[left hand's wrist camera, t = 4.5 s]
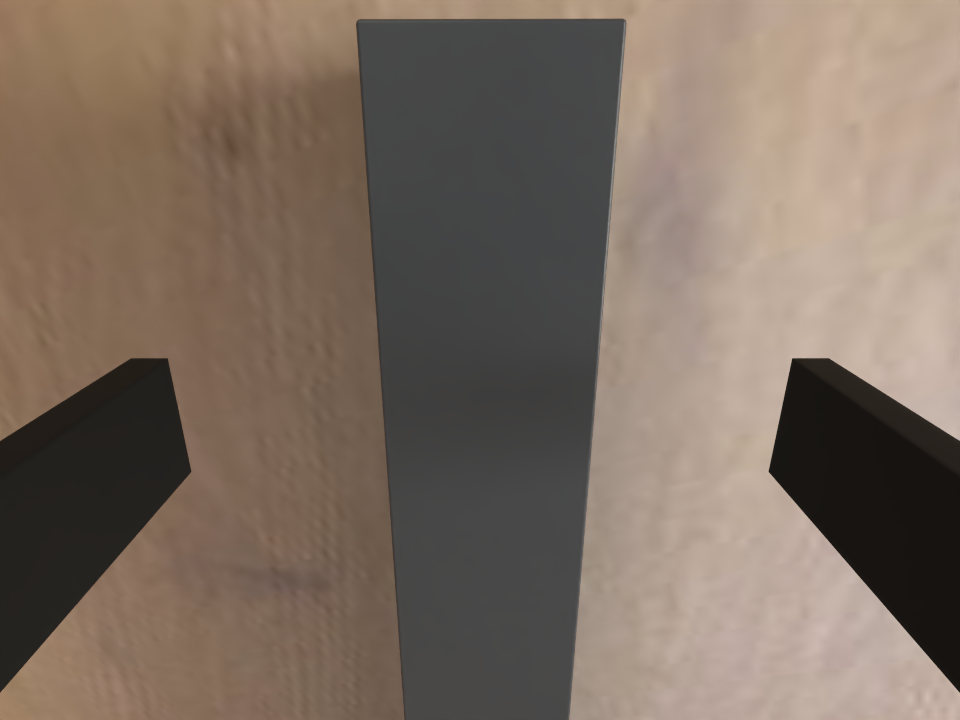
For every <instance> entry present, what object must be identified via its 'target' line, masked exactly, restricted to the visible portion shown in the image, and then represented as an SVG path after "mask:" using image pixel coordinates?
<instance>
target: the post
mask: <svg viewBox="0 0 960 720" xmlns="http://www.w3.org/2000/svg"><path fill="white" fill-rule="evenodd" d="M356 28H357V43H358V57H359V71H360V86H361V100H362V114H363V129H364V143H365V157H366V172H367V186H368V200H369V215H370V229H371V243H372V258H373V272H374V286H375V301H376V315H377V329H378V344H379V358H380V372H381V387H382V401H383V415H384V430H385V444H386V458H387V473H388V487H389V501H390V516H391V530H392V544H393V559H394V573H395V587H396V601H397V616H398V630H399V644H400V659H401V673H402V687H403V702H404V716H405V720H569V714H570V702H571V690H572V678H573V665H574V653H575V641H576V629H577V617H578V605H579V593H580V580H581V568H582V556H583V544H584V532H585V520H586V508H587V496H588V483H589V471H590V459H591V447H592V435H593V423H594V411H595V399H596V386H597V374H598V362H599V350H600V338H601V326H602V314H603V301H604V289H605V277H606V265H607V253H608V241H609V229H610V217H611V204H612V192H613V180H614V168H615V156H616V144H617V132H618V119H619V107H620V95H621V83H622V71H623V59H624V47H625V35H626V20H624V19H360V20H358V21H357V23H356Z"/></svg>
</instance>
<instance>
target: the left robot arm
mask: <svg viewBox="0 0 960 720" xmlns="http://www.w3.org/2000/svg"><path fill="white" fill-rule="evenodd" d="M190 473H191V468H190V463H189V458H188V454H187V449H186V444H185V439H184V434H183V430H182V425H181V420H180V415H179V410H178V406H177V401H176V396H175V391H174V386H173V382H172V377H171V372H170V367H169V363H168V358H131V359H130V360H128V361H126V362H125V363H123V364H122V365H120V366H118V367H117V368H115V369H114V370H112V371H111V372H109V373H107V374H106V375H104V376H103V377H101V378H99V379H98V380H96V381H95V382H93V383H92V384H90V385H88V386H87V387H85V388H84V389H82V390H80V391H79V392H77V393H76V394H74V395H73V396H71V397H69V398H68V399H66V400H65V401H63V402H61V403H60V404H58V405H57V406H55V407H54V408H52V409H50V410H49V411H47V412H46V413H44V414H42V415H41V416H39V417H38V418H36V419H35V420H33V421H31V422H30V423H28V424H27V425H25V426H23V427H22V428H20V429H19V430H17V431H16V432H14V433H12V434H11V435H9V436H8V437H6V438H4V439H3V440H1V441H0V692H1V691H2V690H3V689H4V688H5V686H6V685H7V684H8V683H9V682H10V681H11V680H12V678H13V677H14V676H15V675H16V674H17V673H18V671H19V670H20V669H21V668H22V667H23V666H24V664H25V663H26V662H27V661H28V660H29V659H30V658H31V656H32V655H33V654H34V653H35V652H36V651H37V649H38V648H39V647H40V646H41V645H42V644H43V643H44V641H45V640H46V639H47V638H48V637H49V636H50V634H51V633H52V632H53V631H54V630H55V629H56V628H57V626H58V625H59V624H60V623H61V622H62V621H63V619H64V618H65V617H66V616H67V615H68V614H69V612H70V611H71V610H72V609H73V608H74V607H75V606H76V604H77V603H78V602H79V601H80V600H81V599H82V597H83V596H84V595H85V594H86V593H87V592H88V591H89V589H90V588H91V587H92V586H93V585H94V584H95V582H96V581H97V580H98V579H99V578H100V577H101V576H102V574H103V573H104V572H105V571H106V570H107V569H108V567H109V566H110V565H111V564H112V563H113V562H114V560H115V559H116V558H117V557H118V556H119V555H120V554H121V552H122V551H123V550H124V549H125V548H126V547H127V545H128V544H129V543H130V542H131V541H132V540H133V539H134V537H135V536H136V535H137V534H138V533H139V532H140V530H141V529H142V528H143V527H144V526H145V525H146V524H147V522H148V521H149V520H150V519H151V518H152V517H153V515H154V514H155V513H156V512H157V511H158V510H159V508H160V507H161V506H162V505H163V504H164V503H165V502H166V500H167V499H168V498H169V497H170V496H171V495H172V493H173V492H174V491H175V490H176V489H177V488H178V487H179V485H180V484H181V483H182V482H183V481H184V480H185V478H186V477H187V476H188V475H189V474H190ZM769 473H770V474H771V475H772V476H773V477H774V478H775V480H776V481H777V482H778V483H779V484H780V485H781V487H782V488H783V489H784V490H785V491H786V492H787V493H788V495H789V496H790V497H791V498H792V499H793V500H794V502H795V503H796V504H797V505H798V506H799V507H800V508H801V510H802V511H803V512H804V513H805V514H806V515H807V517H808V518H809V519H810V520H811V521H812V522H813V524H814V525H815V526H816V527H817V528H818V529H819V530H820V532H821V533H822V534H823V535H824V536H825V537H826V539H827V540H828V541H829V542H830V543H831V544H832V545H833V547H834V548H835V549H836V550H837V551H838V552H839V554H840V555H841V556H842V557H843V558H844V559H845V560H846V562H847V563H848V564H849V565H850V566H851V567H852V569H853V570H854V571H855V572H856V573H857V574H858V576H859V577H860V578H861V579H862V580H863V581H864V582H865V584H866V585H867V586H868V587H869V588H870V589H871V591H872V592H873V593H874V594H875V595H876V596H877V597H878V599H879V600H880V601H881V602H882V603H883V604H884V606H885V607H886V608H887V609H888V610H889V611H890V612H891V614H892V615H893V616H894V617H895V618H896V619H897V621H898V622H899V623H900V624H901V625H902V626H903V628H904V629H905V630H906V631H907V632H908V633H909V634H910V636H911V637H912V638H913V639H914V640H915V641H916V643H917V644H918V645H919V646H920V647H921V648H922V649H923V651H924V652H925V653H926V654H927V655H928V656H929V658H930V659H931V660H932V661H933V662H934V663H935V664H936V666H937V667H938V668H939V669H940V670H941V671H942V673H943V674H944V675H945V676H946V677H947V678H948V680H949V681H950V682H951V683H952V684H953V685H954V686H955V688H956V689H957V690H958V691H959V692H960V441H959V440H957V439H956V438H954V437H952V436H951V435H949V434H948V433H946V432H944V431H943V430H941V429H940V428H938V427H937V426H935V425H933V424H932V423H930V422H929V421H927V420H925V419H924V418H922V417H921V416H919V415H918V414H916V413H914V412H913V411H911V410H910V409H908V408H906V407H905V406H903V405H902V404H900V403H899V402H897V401H895V400H894V399H892V398H891V397H889V396H887V395H886V394H884V393H883V392H881V391H880V390H878V389H876V388H875V387H873V386H872V385H870V384H868V383H867V382H865V381H864V380H862V379H861V378H859V377H857V376H856V375H854V374H853V373H851V372H849V371H848V370H846V369H845V368H843V367H842V366H840V365H838V364H837V363H835V362H834V361H832V360H830V359H829V358H792V363H791V367H790V372H789V377H788V382H787V386H786V391H785V396H784V401H783V406H782V410H781V415H780V420H779V425H778V430H777V434H776V439H775V444H774V449H773V454H772V458H771V463H770V468H769Z"/></svg>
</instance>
